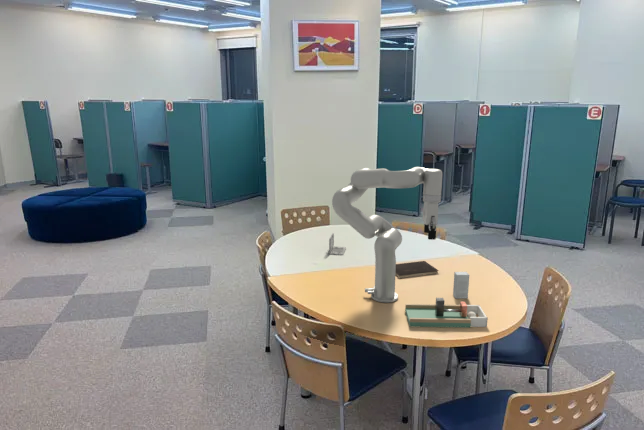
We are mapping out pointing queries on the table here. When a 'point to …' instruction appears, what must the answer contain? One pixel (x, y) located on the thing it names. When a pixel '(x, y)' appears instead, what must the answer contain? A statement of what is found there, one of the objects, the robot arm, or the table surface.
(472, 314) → the ball
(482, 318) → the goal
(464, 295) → the skincare box
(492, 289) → the table surface
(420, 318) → the pitch board
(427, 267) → the hardcover book
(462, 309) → the kicker rod
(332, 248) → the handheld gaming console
